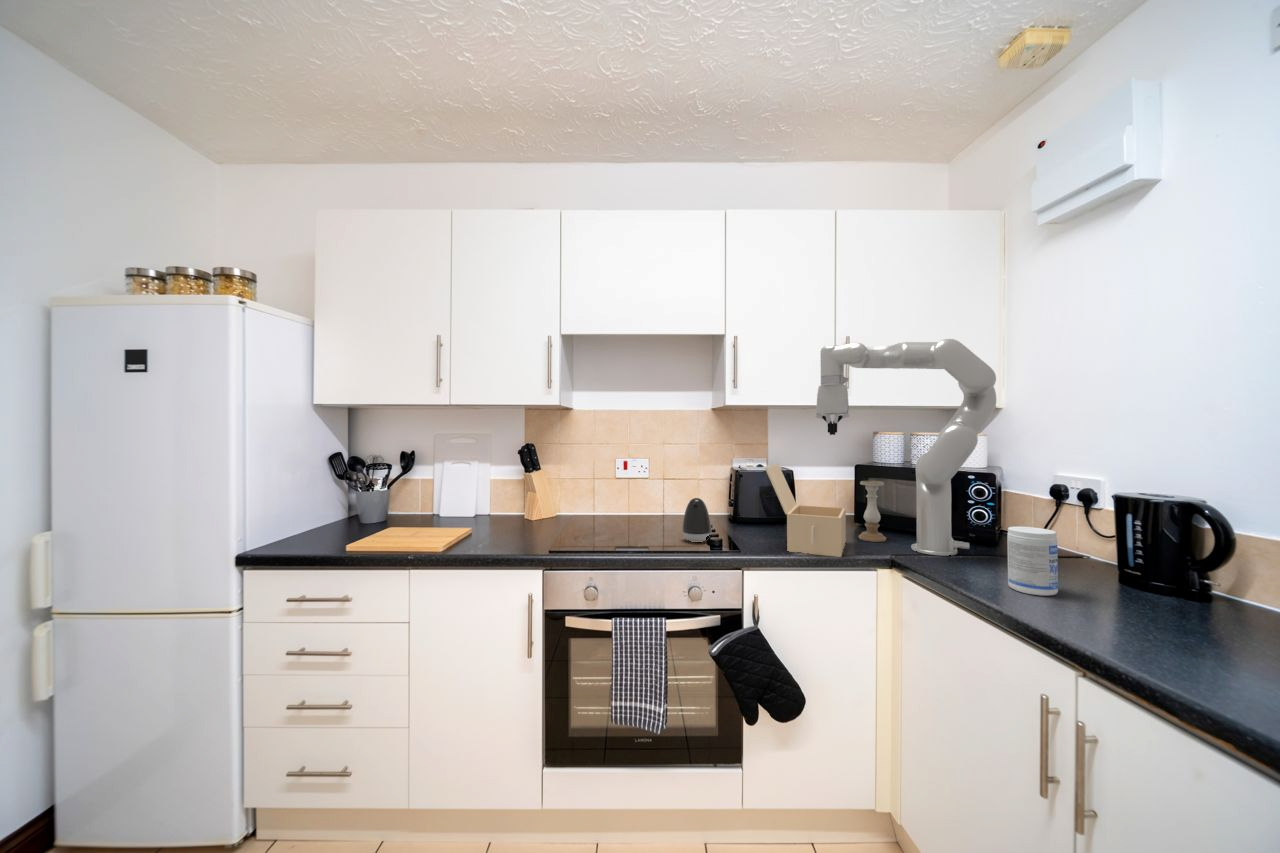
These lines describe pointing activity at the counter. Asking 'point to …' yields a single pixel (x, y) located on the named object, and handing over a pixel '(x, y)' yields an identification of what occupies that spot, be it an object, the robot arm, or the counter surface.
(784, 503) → the lid flap
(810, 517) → the carton
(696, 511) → the dark grey domed cylinder
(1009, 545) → the supplement tub
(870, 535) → the candle holder
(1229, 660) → the counter surface
